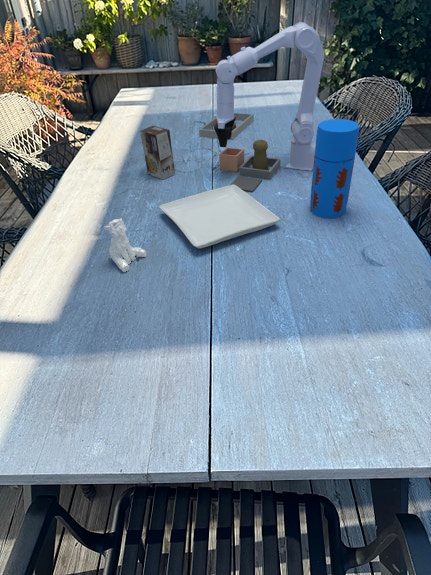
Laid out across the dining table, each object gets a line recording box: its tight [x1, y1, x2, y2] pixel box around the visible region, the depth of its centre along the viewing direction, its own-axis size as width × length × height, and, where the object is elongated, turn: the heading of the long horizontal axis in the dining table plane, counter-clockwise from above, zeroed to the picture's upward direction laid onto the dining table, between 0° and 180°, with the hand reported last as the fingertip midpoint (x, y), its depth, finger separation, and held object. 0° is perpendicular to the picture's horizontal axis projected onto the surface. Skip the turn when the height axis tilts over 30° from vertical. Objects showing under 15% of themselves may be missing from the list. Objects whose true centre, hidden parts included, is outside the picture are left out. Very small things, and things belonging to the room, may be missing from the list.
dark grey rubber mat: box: [229, 176, 263, 193], centre depth 140 cm, size 9×9×1 cm
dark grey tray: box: [198, 112, 255, 141], centre depth 185 cm, size 16×26×3 cm, turn 155°
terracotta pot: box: [218, 146, 245, 173], centre depth 150 cm, size 7×7×6 cm
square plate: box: [158, 184, 281, 249], centre depth 122 cm, size 27×27×4 cm
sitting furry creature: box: [103, 217, 147, 273], centre depth 106 cm, size 10×9×12 cm
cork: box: [251, 139, 269, 170], centre depth 145 cm, size 6×6×11 cm
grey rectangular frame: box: [238, 154, 282, 181], centre depth 147 cm, size 12×12×3 cm
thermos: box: [309, 118, 360, 219], centre depth 116 cm, size 11×11×25 cm
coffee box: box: [139, 125, 176, 180], centre depth 147 cm, size 9×6×16 cm
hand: (225, 142), depth 144 cm, fingers open, 7 cm apart
